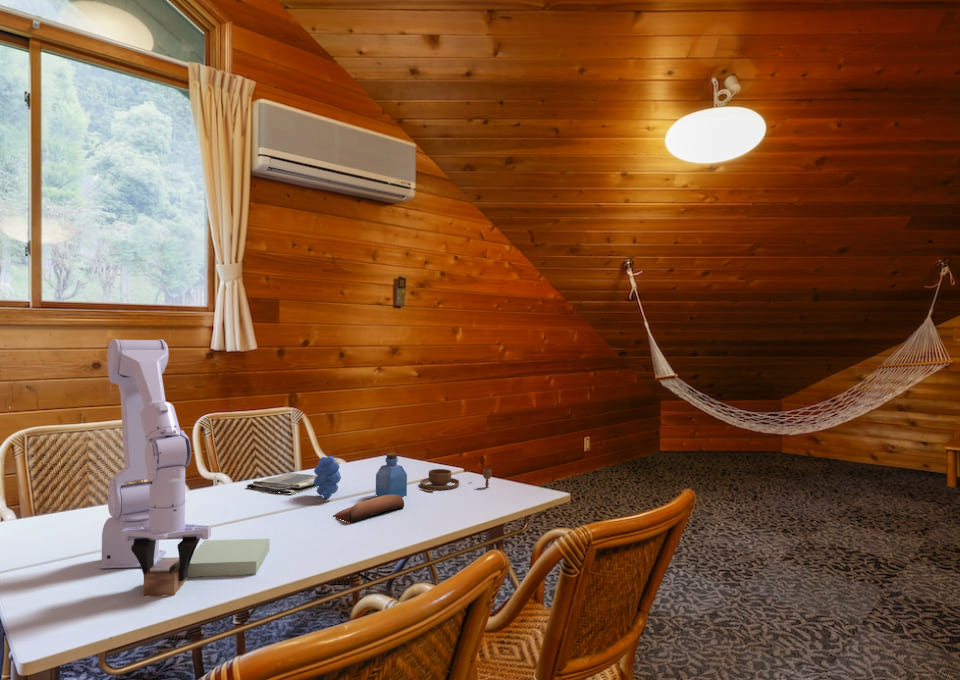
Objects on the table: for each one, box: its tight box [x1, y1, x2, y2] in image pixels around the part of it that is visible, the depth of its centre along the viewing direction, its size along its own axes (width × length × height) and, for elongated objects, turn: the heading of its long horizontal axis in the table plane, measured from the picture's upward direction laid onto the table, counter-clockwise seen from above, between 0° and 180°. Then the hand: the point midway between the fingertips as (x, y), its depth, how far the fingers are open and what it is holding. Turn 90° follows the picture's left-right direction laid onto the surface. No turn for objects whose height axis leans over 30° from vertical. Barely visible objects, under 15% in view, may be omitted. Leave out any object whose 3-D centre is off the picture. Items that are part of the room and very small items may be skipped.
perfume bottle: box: [375, 452, 408, 498], centre depth 174 cm, size 6×6×12 cm
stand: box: [187, 538, 271, 578], centre depth 122 cm, size 13×13×2 cm
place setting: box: [418, 468, 492, 493], centre depth 185 cm, size 18×20×6 cm
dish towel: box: [246, 472, 318, 496], centre depth 184 cm, size 19×18×3 cm
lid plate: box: [150, 556, 180, 574], centre depth 110 cm, size 3×5×2 cm, turn 6°
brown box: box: [143, 566, 188, 598], centre depth 110 cm, size 5×7×4 cm
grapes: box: [313, 455, 342, 499], centre depth 171 cm, size 12×7×12 cm, turn 46°
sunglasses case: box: [332, 495, 405, 524], centre depth 157 cm, size 18×7×7 cm
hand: (166, 579), depth 110 cm, fingers open, 5 cm apart
